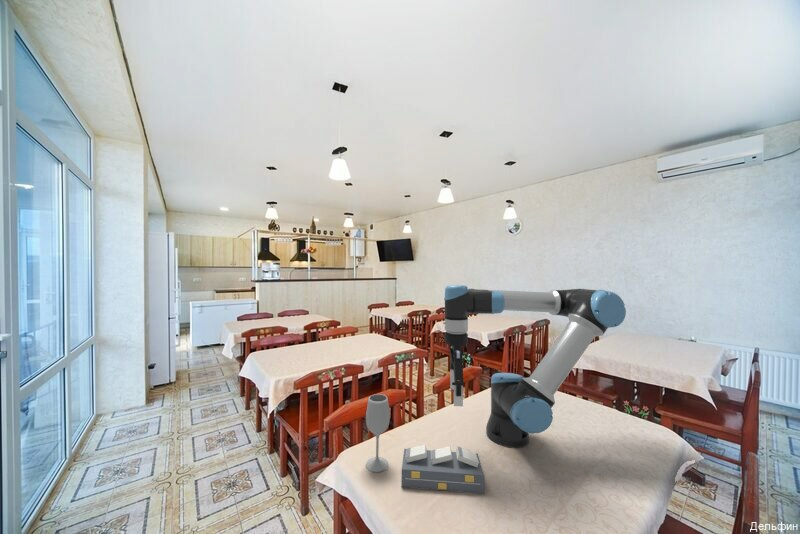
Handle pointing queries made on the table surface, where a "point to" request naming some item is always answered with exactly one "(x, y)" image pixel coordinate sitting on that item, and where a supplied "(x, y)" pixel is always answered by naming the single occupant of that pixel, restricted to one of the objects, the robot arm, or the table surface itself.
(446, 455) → the rocker
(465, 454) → the rocker
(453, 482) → the console
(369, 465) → the wineglass
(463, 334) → the robot arm
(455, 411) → the table surface
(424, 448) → the rocker
